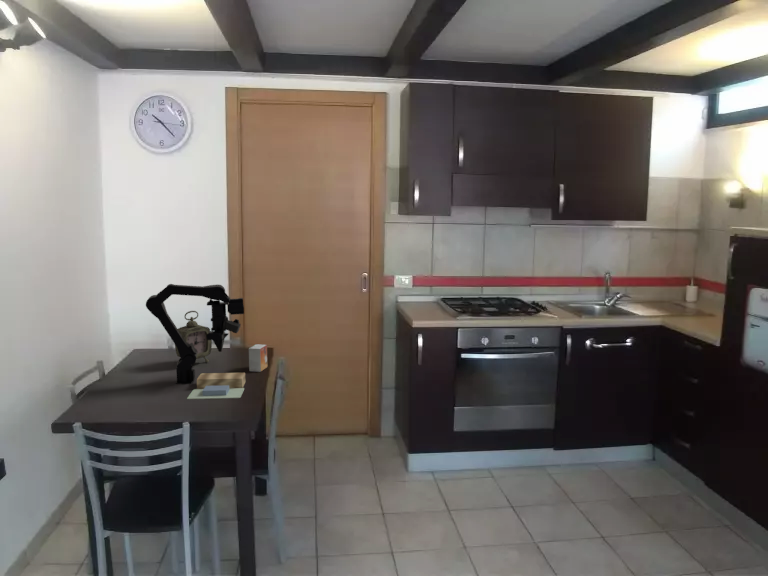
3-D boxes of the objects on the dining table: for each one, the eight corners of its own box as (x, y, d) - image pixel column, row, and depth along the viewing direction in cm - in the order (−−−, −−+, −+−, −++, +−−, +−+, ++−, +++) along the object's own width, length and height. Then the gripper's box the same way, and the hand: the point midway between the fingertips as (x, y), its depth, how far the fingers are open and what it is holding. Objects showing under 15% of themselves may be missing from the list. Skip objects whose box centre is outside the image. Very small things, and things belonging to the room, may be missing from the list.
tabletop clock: (184, 369, 262) (181, 314, 259) (173, 365, 268) (170, 311, 264) (212, 362, 273) (210, 309, 269) (201, 359, 279) (199, 307, 275)
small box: (260, 372, 259) (260, 349, 257) (249, 371, 260) (248, 348, 258) (267, 367, 267) (267, 344, 265) (256, 366, 268) (255, 343, 266)
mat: (186, 399, 224) (186, 398, 224) (193, 389, 235) (193, 389, 235) (240, 398, 226) (240, 397, 226) (244, 388, 237) (244, 388, 237)
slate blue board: (206, 385, 233) (206, 390, 233) (202, 390, 227) (202, 395, 227) (229, 385, 234) (229, 390, 234) (226, 390, 228) (226, 395, 228)
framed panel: (197, 388, 236) (196, 379, 235) (201, 382, 244) (201, 373, 243) (242, 388, 237) (242, 378, 237) (245, 381, 245) (245, 372, 245)
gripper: (233, 319, 236) (234, 357, 238) (243, 310, 254) (244, 345, 257) (205, 319, 235) (207, 357, 238) (217, 310, 254) (218, 345, 256)
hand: (220, 351), depth 247 cm, fingers closed
